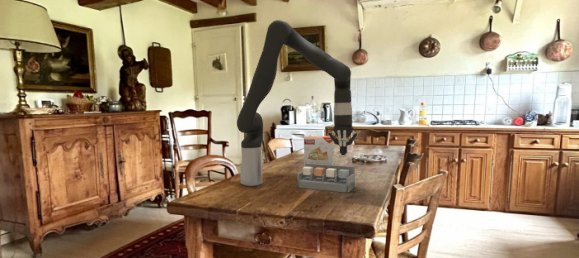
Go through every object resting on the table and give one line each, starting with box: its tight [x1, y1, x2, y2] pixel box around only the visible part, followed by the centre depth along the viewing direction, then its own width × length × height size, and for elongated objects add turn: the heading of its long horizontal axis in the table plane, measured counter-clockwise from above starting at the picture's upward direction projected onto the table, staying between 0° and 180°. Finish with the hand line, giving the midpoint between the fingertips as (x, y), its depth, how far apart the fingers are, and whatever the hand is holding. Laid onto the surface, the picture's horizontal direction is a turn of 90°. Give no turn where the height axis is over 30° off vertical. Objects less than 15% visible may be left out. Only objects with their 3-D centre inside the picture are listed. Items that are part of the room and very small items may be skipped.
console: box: [296, 163, 356, 194], centre depth 143 cm, size 23×10×9 cm, turn 63°
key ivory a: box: [302, 167, 313, 175], centre depth 147 cm, size 4×4×3 cm
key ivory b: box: [326, 168, 337, 177], centre depth 142 cm, size 4×4×3 cm
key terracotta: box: [314, 167, 325, 176], centre depth 144 cm, size 4×4×3 cm
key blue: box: [338, 169, 349, 178], centre depth 139 cm, size 4×4×3 cm
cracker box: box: [303, 135, 335, 168], centre depth 159 cm, size 14×6×21 cm, turn 73°
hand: (343, 154), depth 138 cm, fingers closed
